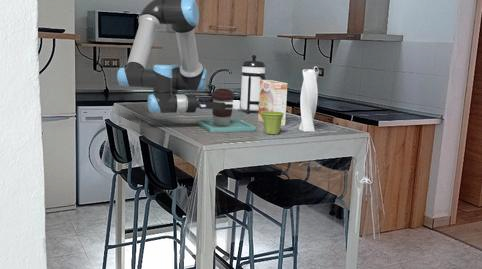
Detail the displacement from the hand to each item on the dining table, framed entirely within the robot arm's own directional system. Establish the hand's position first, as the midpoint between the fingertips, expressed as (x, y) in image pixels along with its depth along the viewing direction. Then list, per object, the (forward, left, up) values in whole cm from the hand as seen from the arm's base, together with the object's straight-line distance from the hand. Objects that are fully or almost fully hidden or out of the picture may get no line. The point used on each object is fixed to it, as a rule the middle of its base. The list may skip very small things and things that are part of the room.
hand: (234, 103), depth 215 cm
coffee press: (-43, +26, -11) cm, 51 cm away
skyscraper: (+12, +30, -11) cm, 34 cm away
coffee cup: (-4, -4, -9) cm, 11 cm away
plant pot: (+15, +12, -11) cm, 22 cm away
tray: (0, -3, -10) cm, 11 cm away
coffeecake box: (-9, +22, -11) cm, 26 cm away
